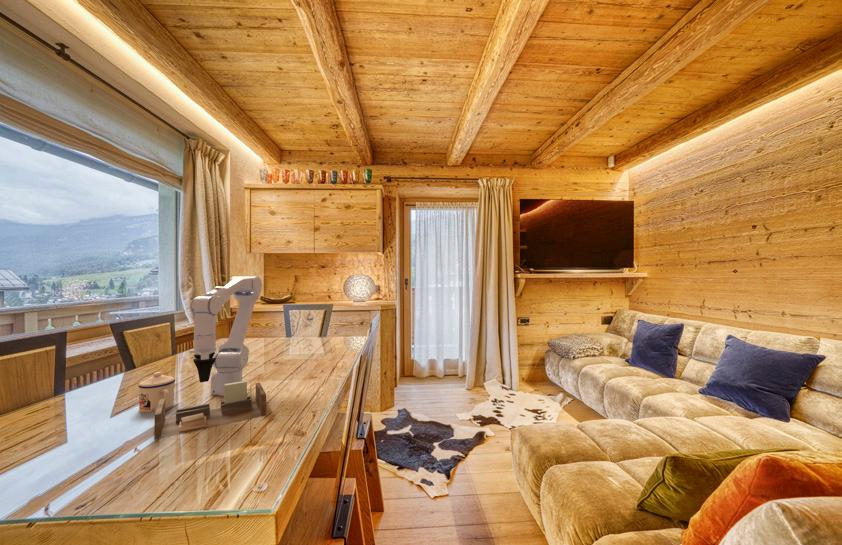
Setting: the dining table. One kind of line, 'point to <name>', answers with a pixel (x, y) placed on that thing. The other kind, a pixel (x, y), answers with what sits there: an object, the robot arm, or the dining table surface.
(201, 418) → the offcut upper
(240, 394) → the beige flat block
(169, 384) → the teacup with lid
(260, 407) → the rack
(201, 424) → the offcut lower
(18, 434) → the dining table surface
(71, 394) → the dining table surface
